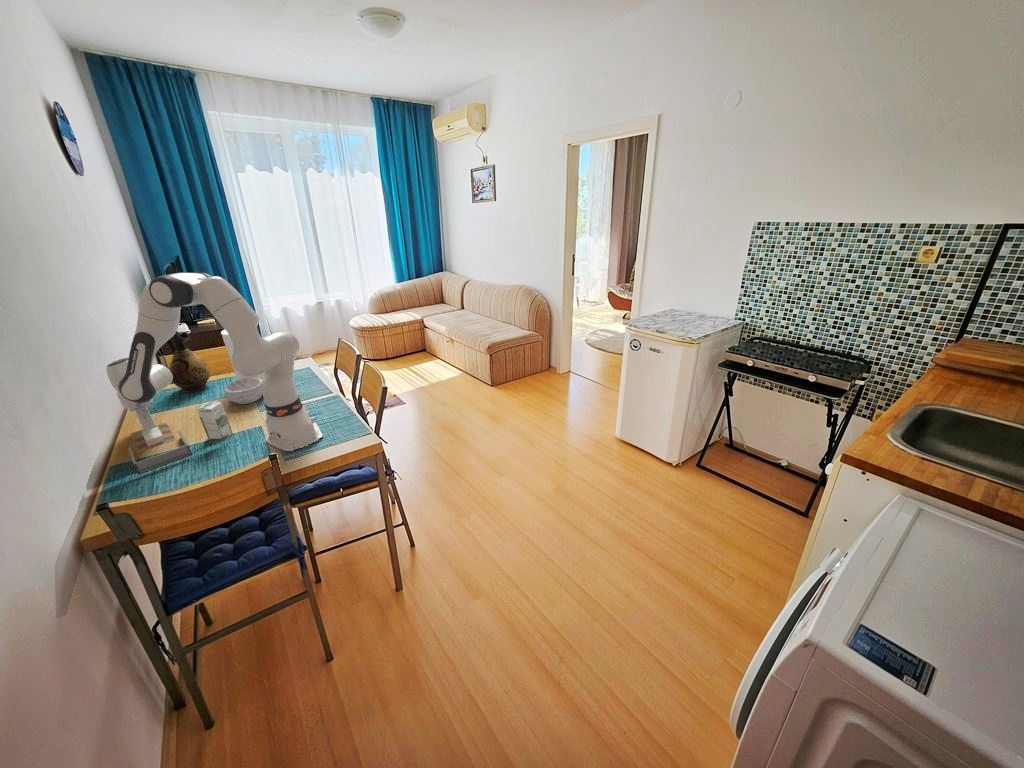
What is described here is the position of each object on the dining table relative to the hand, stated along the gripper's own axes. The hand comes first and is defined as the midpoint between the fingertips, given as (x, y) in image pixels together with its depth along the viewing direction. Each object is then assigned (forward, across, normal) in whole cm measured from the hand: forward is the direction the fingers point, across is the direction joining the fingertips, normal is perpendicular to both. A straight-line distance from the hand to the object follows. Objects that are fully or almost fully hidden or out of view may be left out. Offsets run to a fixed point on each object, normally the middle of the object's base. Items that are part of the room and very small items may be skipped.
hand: (151, 431), depth 159 cm
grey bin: (+2, -21, 0) cm, 21 cm away
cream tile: (+1, -9, 0) cm, 9 cm away
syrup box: (+2, -22, -18) cm, 29 cm away
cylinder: (+2, +25, -46) cm, 52 cm away
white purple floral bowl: (+2, +7, -36) cm, 37 cm away
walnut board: (+2, -4, 0) cm, 4 cm away
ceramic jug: (+2, +43, -22) cm, 48 cm away
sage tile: (+1, -4, 0) cm, 4 cm away
